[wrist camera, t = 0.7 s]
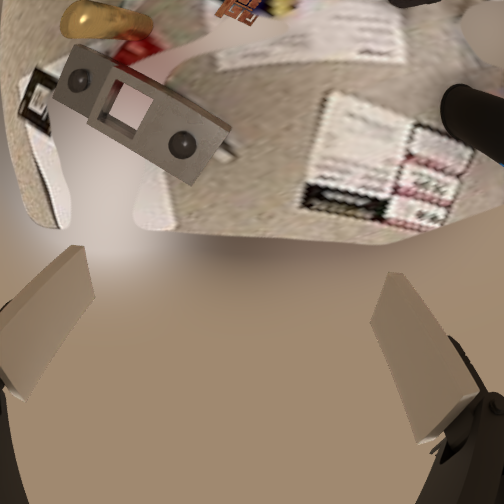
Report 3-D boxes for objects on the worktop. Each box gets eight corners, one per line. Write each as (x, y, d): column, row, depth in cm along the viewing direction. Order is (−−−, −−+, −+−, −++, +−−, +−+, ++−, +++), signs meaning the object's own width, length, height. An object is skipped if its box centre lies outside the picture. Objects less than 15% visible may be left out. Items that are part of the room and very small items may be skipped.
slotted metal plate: (80, 44, 23) (64, 45, 20) (232, 127, 31) (228, 134, 28) (58, 95, 27) (42, 101, 24) (196, 176, 35) (190, 188, 32)
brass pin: (135, 10, 21) (73, -4, 11) (158, 20, 23) (102, 5, 12) (120, 35, 23) (53, 32, 13) (142, 45, 24) (80, 43, 14)
